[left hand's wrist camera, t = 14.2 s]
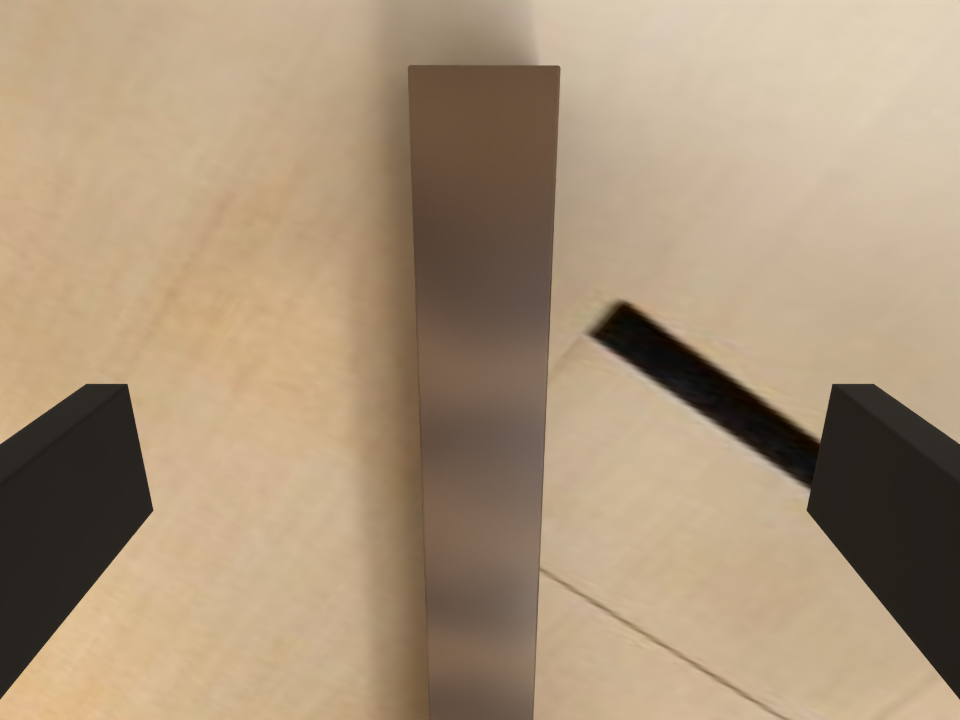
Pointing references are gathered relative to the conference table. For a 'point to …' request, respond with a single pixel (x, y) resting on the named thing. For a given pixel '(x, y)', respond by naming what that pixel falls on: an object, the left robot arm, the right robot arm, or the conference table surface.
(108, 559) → the left robot arm
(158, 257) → the conference table surface
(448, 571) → the beam
